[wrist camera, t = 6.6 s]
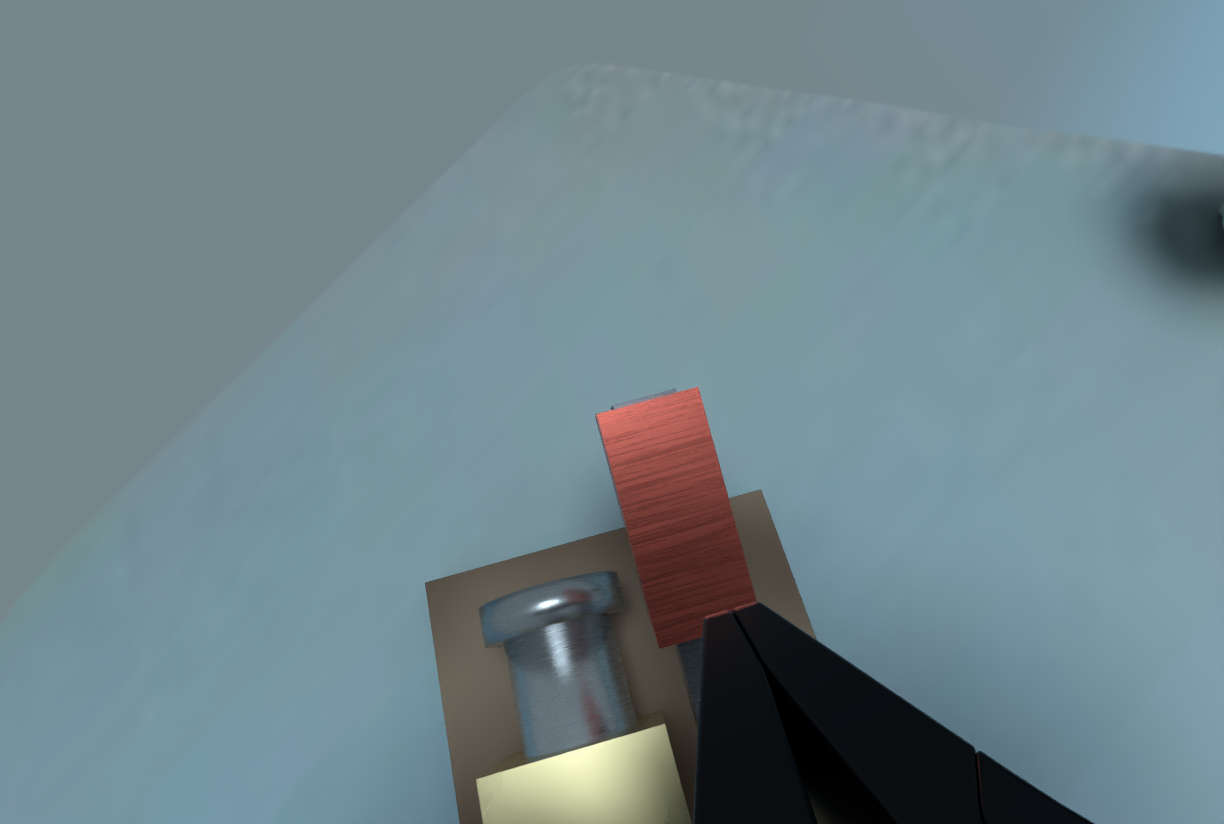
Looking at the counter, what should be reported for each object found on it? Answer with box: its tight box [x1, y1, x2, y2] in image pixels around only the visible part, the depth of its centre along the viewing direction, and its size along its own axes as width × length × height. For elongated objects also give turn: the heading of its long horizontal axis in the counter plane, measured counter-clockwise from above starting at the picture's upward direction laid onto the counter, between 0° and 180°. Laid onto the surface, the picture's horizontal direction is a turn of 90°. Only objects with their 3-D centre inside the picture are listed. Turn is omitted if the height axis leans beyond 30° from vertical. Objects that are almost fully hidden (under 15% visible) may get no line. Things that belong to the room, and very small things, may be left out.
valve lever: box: [595, 387, 757, 770], centre depth 14 cm, size 2×2×11 cm
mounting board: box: [425, 490, 817, 824], centre depth 17 cm, size 16×11×1 cm
